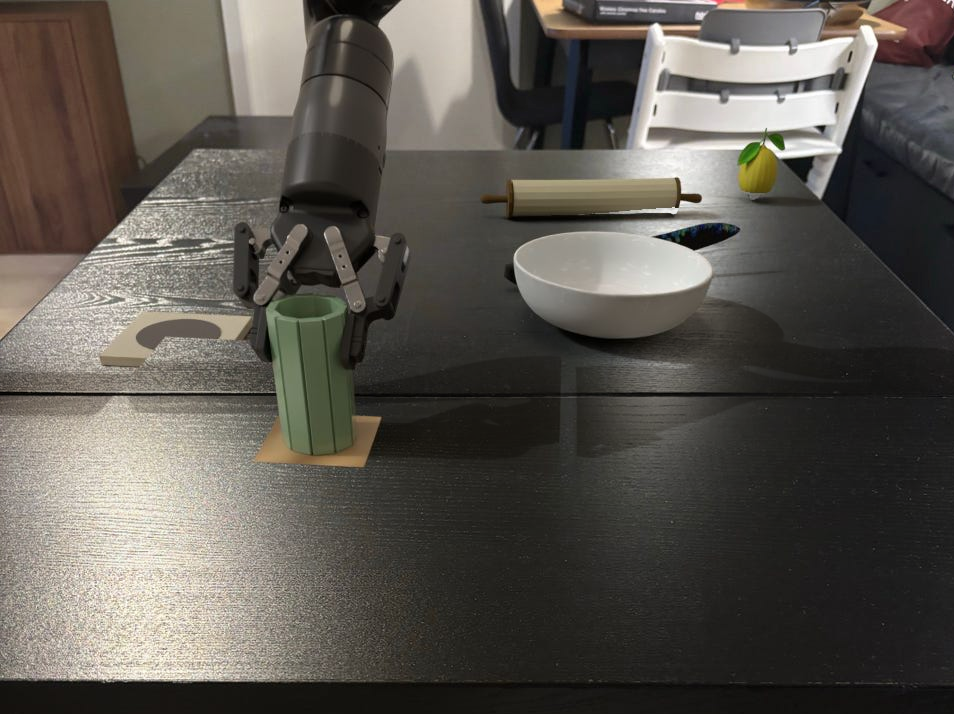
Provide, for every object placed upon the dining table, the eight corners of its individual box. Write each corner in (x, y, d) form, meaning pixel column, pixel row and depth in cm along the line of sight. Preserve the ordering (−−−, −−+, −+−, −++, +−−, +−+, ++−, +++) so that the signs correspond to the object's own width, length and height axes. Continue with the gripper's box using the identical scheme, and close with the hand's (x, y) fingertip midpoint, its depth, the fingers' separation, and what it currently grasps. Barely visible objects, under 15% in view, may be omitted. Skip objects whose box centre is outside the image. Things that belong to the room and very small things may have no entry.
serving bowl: (662, 378, 92) (673, 308, 87) (476, 335, 99) (478, 269, 95) (728, 313, 106) (740, 249, 101) (561, 279, 114) (565, 219, 109)
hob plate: (100, 365, 92) (98, 354, 91) (143, 320, 101) (141, 310, 100) (221, 371, 91) (219, 360, 91) (253, 325, 101) (252, 315, 100)
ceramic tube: (275, 453, 76) (257, 319, 69) (293, 419, 81) (277, 291, 74) (348, 457, 76) (337, 323, 69) (361, 422, 81) (353, 294, 74)
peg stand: (255, 474, 76) (236, 352, 69) (281, 424, 83) (266, 309, 76) (365, 480, 75) (356, 358, 69) (382, 429, 82) (376, 314, 76)
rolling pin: (482, 223, 131) (483, 184, 128) (478, 212, 136) (478, 174, 132) (704, 220, 135) (710, 182, 131) (693, 209, 139) (699, 172, 136)
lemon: (775, 197, 145) (790, 125, 139) (775, 207, 140) (791, 133, 134) (731, 194, 146) (744, 121, 140) (730, 203, 142) (743, 129, 135)
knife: (508, 304, 111) (505, 266, 108) (501, 294, 113) (499, 257, 110) (747, 259, 115) (752, 221, 112) (736, 250, 117) (740, 213, 114)
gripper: (231, 123, 71) (197, 334, 69) (416, 133, 69) (386, 350, 68) (263, 181, 78) (233, 373, 77) (432, 192, 77) (404, 388, 75)
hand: (305, 361), depth 72 cm, fingers closed on ceramic tube, 6 cm apart
